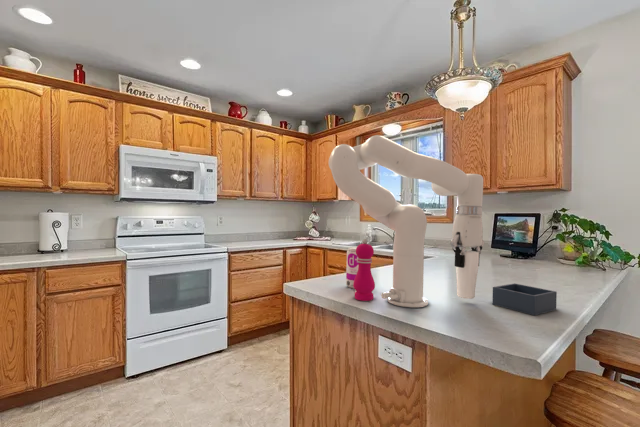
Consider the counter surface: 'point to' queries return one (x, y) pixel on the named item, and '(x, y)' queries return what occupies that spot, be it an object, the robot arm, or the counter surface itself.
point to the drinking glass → (467, 275)
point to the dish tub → (524, 298)
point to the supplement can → (351, 266)
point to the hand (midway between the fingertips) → (466, 266)
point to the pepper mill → (364, 272)
